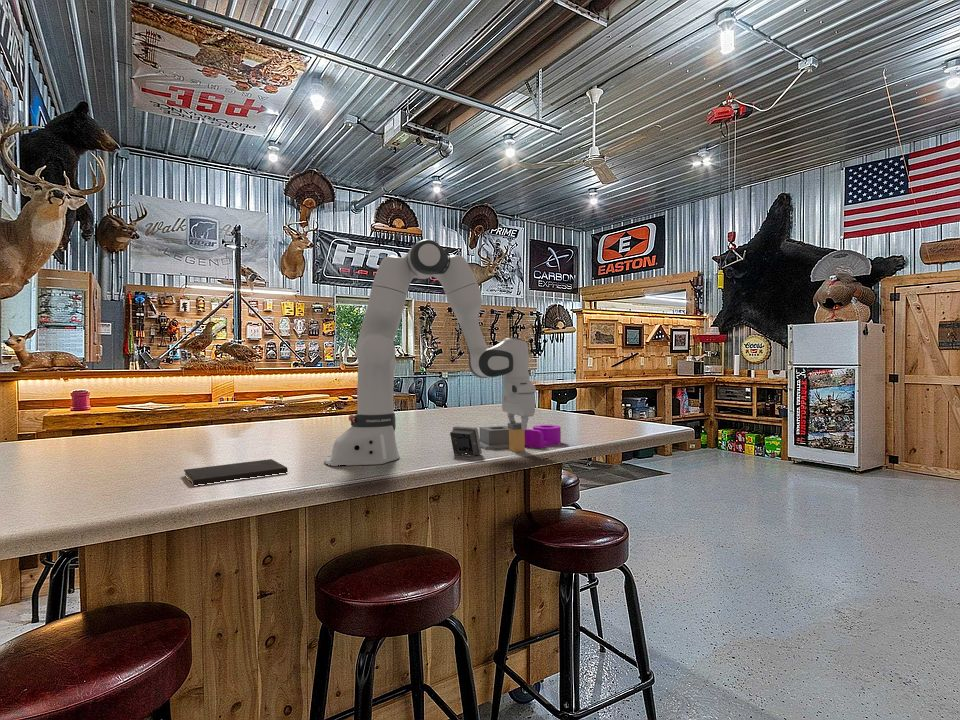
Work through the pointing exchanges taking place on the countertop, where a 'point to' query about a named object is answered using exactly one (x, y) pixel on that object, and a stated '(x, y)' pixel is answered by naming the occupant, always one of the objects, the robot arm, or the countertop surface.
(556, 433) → the tape dispenser
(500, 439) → the socket
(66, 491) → the countertop surface
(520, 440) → the tan jar
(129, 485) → the countertop surface
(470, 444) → the electrical switch
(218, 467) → the hardcover book
